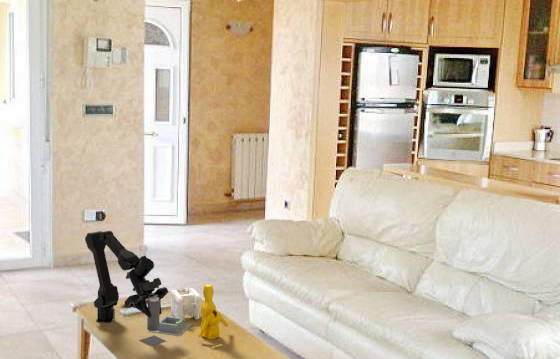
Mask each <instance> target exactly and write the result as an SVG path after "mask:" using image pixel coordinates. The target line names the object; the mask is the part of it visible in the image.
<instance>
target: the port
mask: <svg viewBox="0 0 560 359" xmlns="http://www.w3.org/2000/svg"><path fill="white" fill-rule="evenodd" d="M192 327H193V324H192V323H188V322H185V318H184V317H183V318H176V317H174V316H168V315H165V316H163V317H162V318H161V319H159V330H157V331H149V330H148V332H149V333H150V332H151V333H155V334H163V335H169V336H176V337H181V336H182V335H183V334H184V333H185V332H186V331H187V330H188V329H190V328H192Z"/></svg>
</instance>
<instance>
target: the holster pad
mask: <svg viewBox="0 0 560 359" xmlns="http://www.w3.org/2000/svg"><path fill="white" fill-rule="evenodd" d="M138 341H139V342H140V343H143V344H145V345H147V346H149V347H155V346H156V345H160V344H162V343H163V344H164V343H166V342H167V340H165V339H164V338H161V337H159V336H157V335H152V336H148V337H144V338H143V339H139V340H138Z"/></svg>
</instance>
